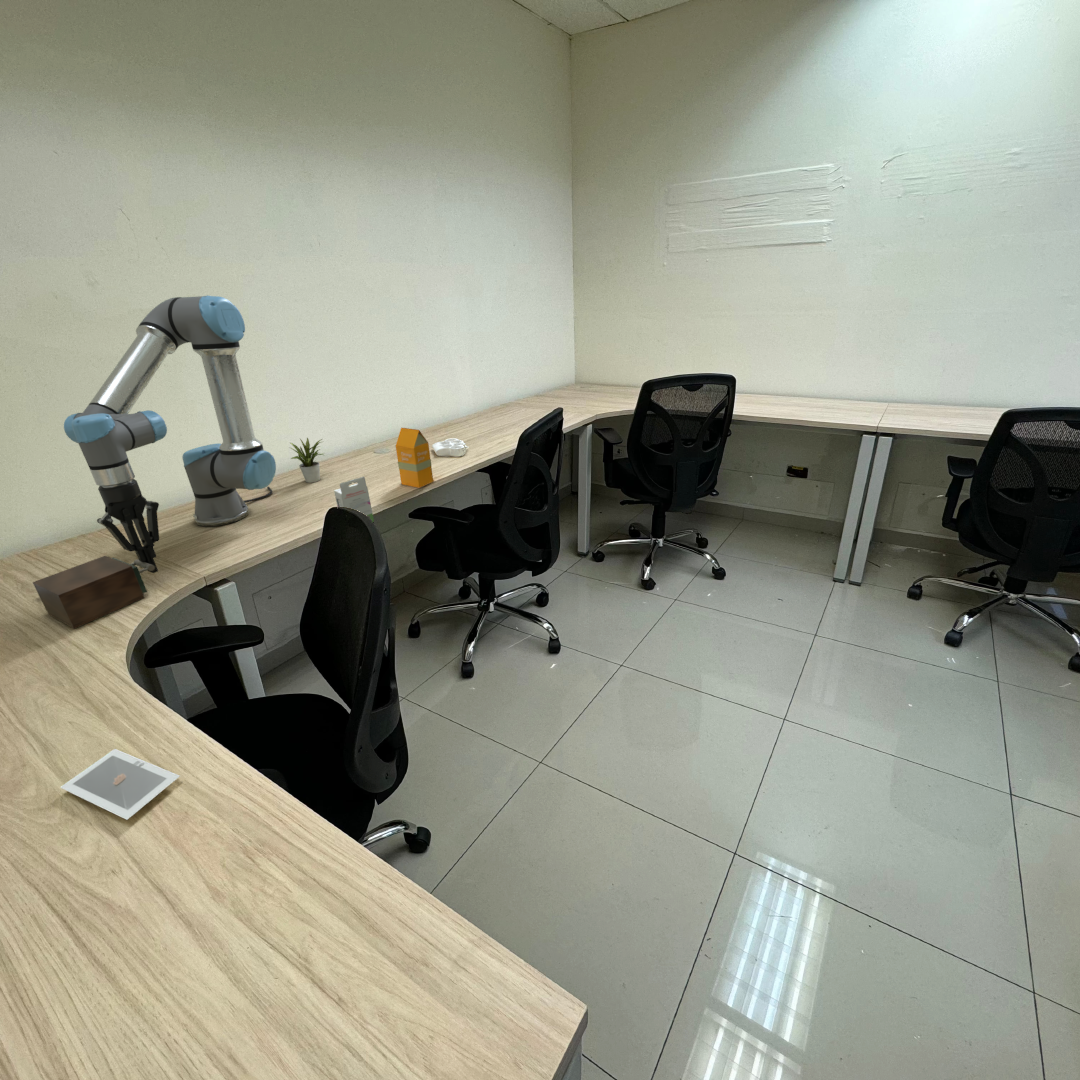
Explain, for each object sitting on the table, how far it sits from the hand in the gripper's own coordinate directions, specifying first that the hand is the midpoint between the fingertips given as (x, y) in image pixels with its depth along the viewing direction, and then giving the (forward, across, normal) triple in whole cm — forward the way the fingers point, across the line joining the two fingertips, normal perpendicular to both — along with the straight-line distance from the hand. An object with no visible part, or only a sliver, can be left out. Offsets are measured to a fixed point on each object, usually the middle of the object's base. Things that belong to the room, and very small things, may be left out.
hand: (152, 571), depth 138 cm
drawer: (+2, +10, 0) cm, 10 cm away
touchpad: (+3, +38, +63) cm, 73 cm away
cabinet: (+3, +13, 0) cm, 14 cm away
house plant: (+4, -72, -27) cm, 77 cm away
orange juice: (+5, -86, +11) cm, 87 cm away
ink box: (+4, -49, +20) cm, 53 cm away
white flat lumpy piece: (+5, -124, -3) cm, 124 cm away
